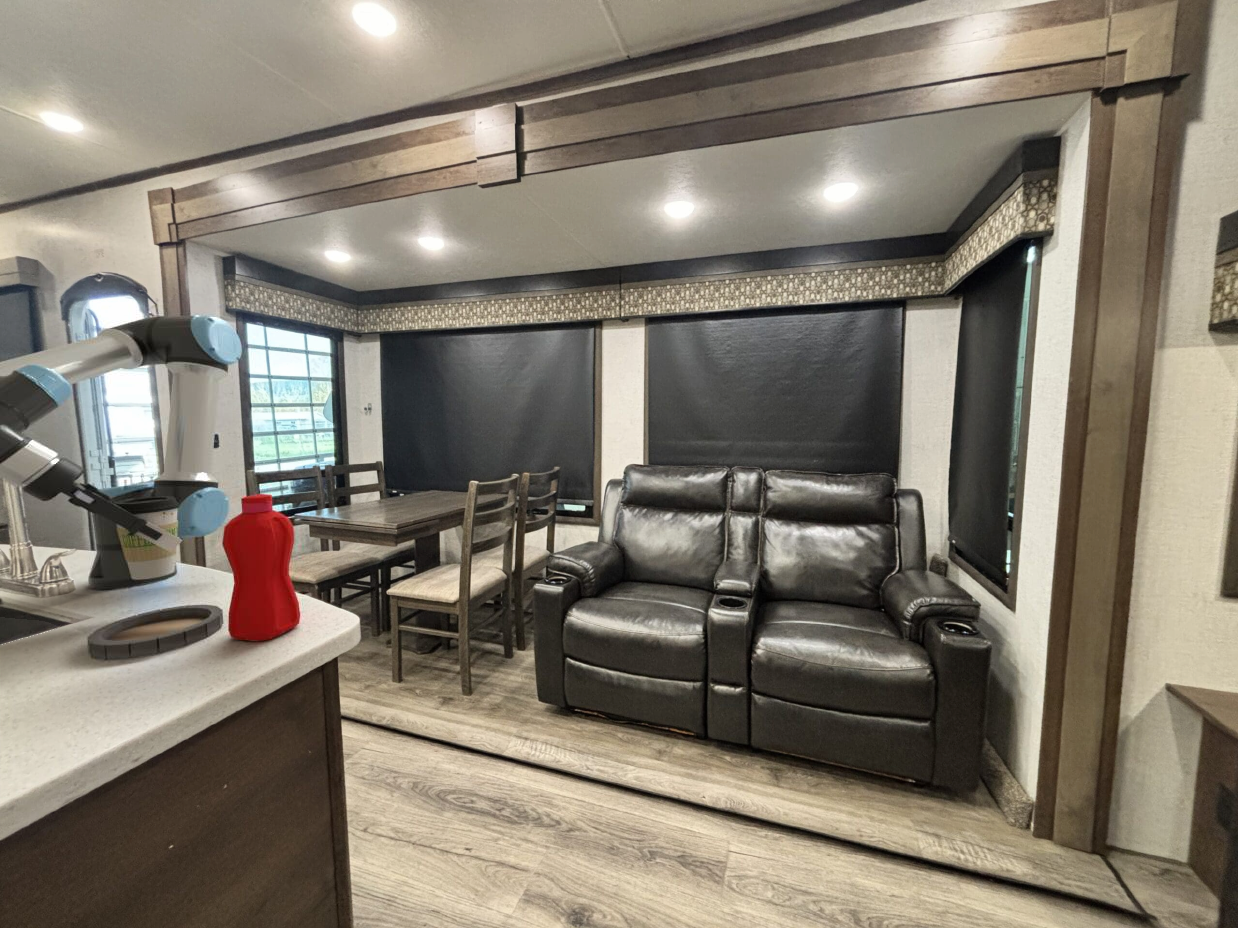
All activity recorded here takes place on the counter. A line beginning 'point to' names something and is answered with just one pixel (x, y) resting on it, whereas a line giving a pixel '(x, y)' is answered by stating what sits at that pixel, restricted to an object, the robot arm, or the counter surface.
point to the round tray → (154, 632)
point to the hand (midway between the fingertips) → (171, 541)
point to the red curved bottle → (260, 571)
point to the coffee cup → (141, 552)
